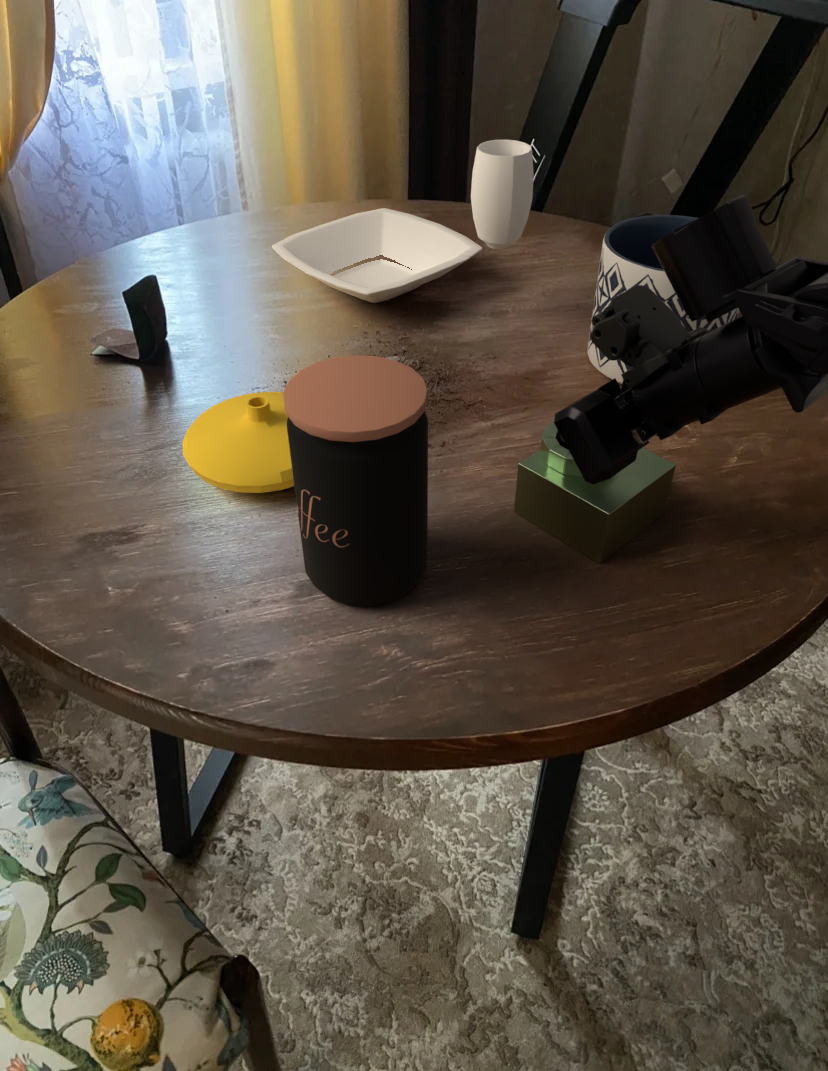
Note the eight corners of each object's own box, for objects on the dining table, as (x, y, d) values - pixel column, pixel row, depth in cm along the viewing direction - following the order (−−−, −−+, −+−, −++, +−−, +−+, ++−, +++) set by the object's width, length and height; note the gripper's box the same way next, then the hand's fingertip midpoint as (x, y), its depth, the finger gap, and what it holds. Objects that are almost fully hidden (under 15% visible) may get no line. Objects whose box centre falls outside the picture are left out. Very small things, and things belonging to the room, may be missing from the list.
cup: (511, 301, 112) (523, 135, 98) (530, 326, 106) (545, 154, 93) (459, 307, 110) (464, 140, 97) (475, 333, 105) (483, 160, 91)
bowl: (261, 286, 116) (256, 245, 112) (388, 240, 128) (386, 202, 124) (365, 343, 103) (363, 300, 100) (495, 287, 115) (497, 246, 111)
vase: (155, 485, 82) (139, 425, 78) (243, 405, 93) (233, 348, 88) (294, 528, 77) (286, 466, 73) (370, 438, 88) (367, 379, 83)
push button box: (664, 513, 79) (680, 447, 74) (599, 564, 73) (612, 497, 69) (575, 465, 84) (585, 401, 79) (509, 509, 79) (515, 444, 74)
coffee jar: (292, 543, 76) (268, 368, 64) (404, 518, 78) (401, 344, 66) (322, 626, 68) (301, 444, 56) (445, 594, 71) (449, 414, 59)
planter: (622, 405, 93) (645, 281, 83) (565, 338, 104) (579, 223, 94) (750, 384, 96) (786, 262, 86) (680, 321, 107) (706, 208, 98)
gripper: (739, 234, 65) (602, 316, 79) (592, 312, 56) (465, 390, 69) (803, 361, 66) (657, 421, 80) (670, 458, 57) (530, 508, 70)
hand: (582, 431), depth 75 cm, fingers closed, pressing on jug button
